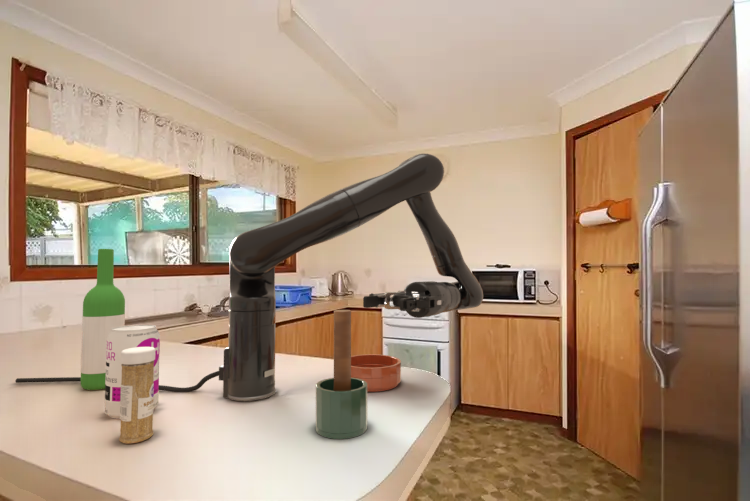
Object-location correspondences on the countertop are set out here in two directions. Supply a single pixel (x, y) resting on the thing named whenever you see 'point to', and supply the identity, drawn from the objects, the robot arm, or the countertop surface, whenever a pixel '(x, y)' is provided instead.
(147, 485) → the countertop surface
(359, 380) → the pot
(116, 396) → the supplement can
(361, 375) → the bowl
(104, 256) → the wine bottle
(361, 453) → the countertop surface
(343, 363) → the brush
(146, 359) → the sprinkles bottle
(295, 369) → the countertop surface
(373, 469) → the countertop surface
